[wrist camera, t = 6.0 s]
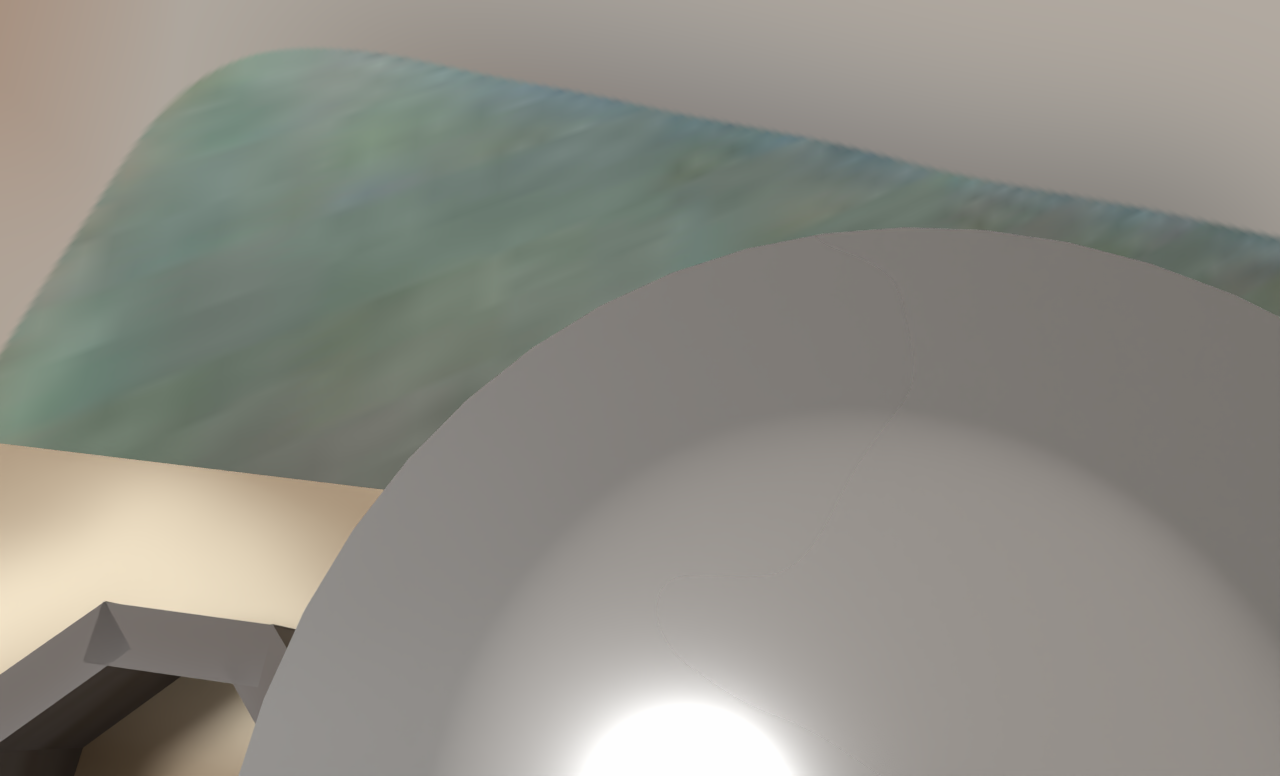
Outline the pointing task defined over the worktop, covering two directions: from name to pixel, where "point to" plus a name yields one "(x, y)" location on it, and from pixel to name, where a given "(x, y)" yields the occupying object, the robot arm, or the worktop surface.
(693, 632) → the pin
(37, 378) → the worktop surface
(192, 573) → the socket board
